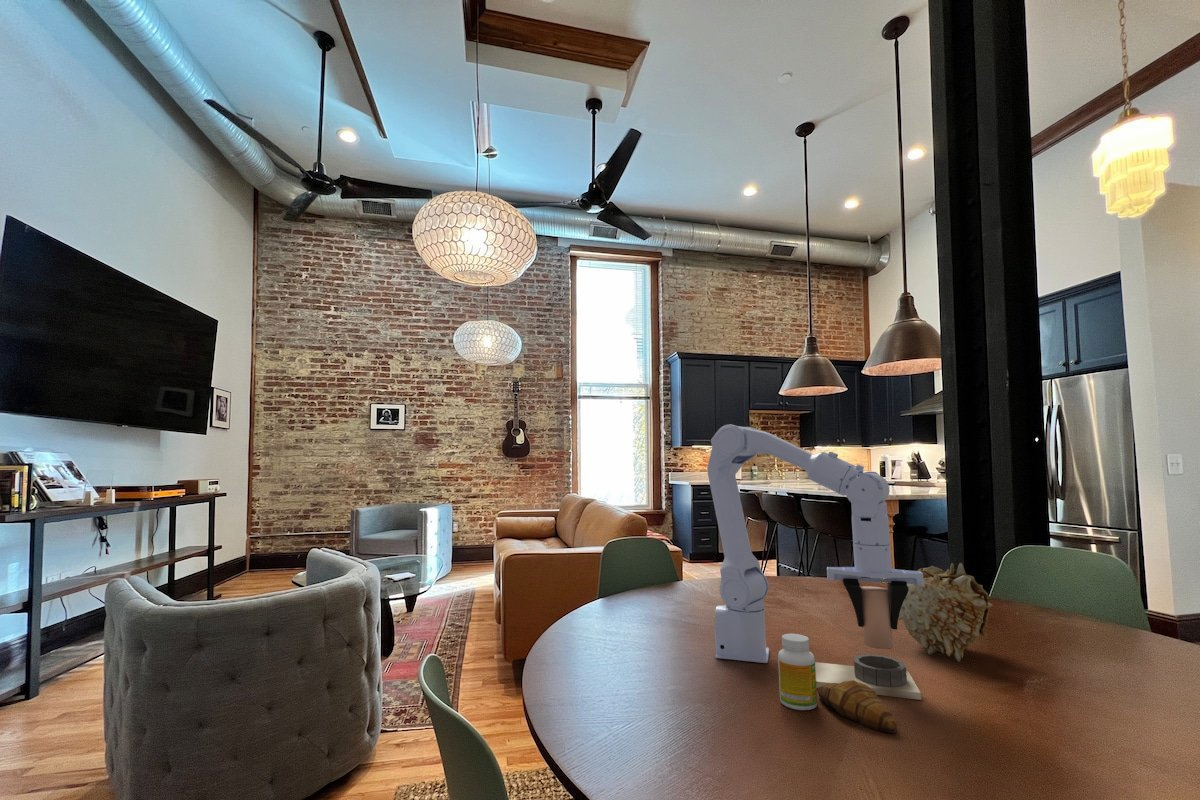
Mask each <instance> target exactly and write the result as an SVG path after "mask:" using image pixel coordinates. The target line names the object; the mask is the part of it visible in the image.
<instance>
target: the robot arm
mask: <svg viewBox="0 0 1200 800" xmlns="http://www.w3.org/2000/svg"><path fill="white" fill-rule="evenodd" d="M710 443H711V451H710V454H709V459H708V462H707V463H708V464H707V471H706V473H707V476H708V477H707V478H708V481H709V487H710V492H711V496H712V501H713V506H714V511H715V512H714V513H715V517H716V521H717V526H718V531H719V535H720V541H721V545H722V551H723V557H724V559H723V561H722V564H721V566H720V569H719V572H720V584H719V594H720V597H721V600H722V601H723V602H724V605H722V604H720V605H716V607H715V611H714V643H715V654H714V655H715V658H716V659H724V660H730V661H731V660H733V661H742V662H752V663H753V662H754V663H763V664H767V663H769V656H770V648H769V647H768V646H767V640H766V639H767V637H766V636H767V635H766V615H765V613H766V612H765V604H764V599H765V598H766V597H767V595H768V592H769V589H770V588H769V587H770V586H769V581H768V578H767V576H766V575H765V574H764V572H763V571H762V569H761V564H760V561H759V560H758V558H756V556H755V555H754V554H753V552H752V548H751V542H750V538H749V533H748V529H747V524H746V518H745V515H744V511H743V510H744V509H743V505H742V500H741V495H740V491H739V487H738V481H737V477H736V475H737V473H738V472H739V471H740V470H741V468H742V467H743V466H744V464H745V463H746V462H748V461H749V460H751V459H752V458H754V457H755V456H756V455H758V454H761V455H762V454H768V455H771V456H773V457H775V458H777V459H780V460H782V461H784V462H787V463H789V464H791V465H794V466H796V467H798V468H800V469H803V470H805V472H806V474H807V477H808V479H809V480H810V481H812V482H814V483H816V484H818V485H820V486H822V487H824V488H826V489H828V490H831V491H832V492H835V493H837V494H838V495H841V496H843V497H845V496H846V498H847V499H848V501H849V502H850V503H851V505H850V506H851V529H852V531H851V532H852V547H853V548H852V549H853V563H854V566H827V567H826V577H827V580H828V581H835V580H836V581H841V582H842V584H843V586H844V588H845V590H846V591H847V594H848V596H849V599H850V602H851V604H852V605H853V606H852V607H853V610H854V613H855V617H856V621H857V627H861V628H862V627H863V616H862V609H861V588H860V587H861V585H860V582H872V583H873V582H874V583H886V585H887V589H888V590H889V599H890V613H891V627H892V630H895V631H896V630H898V623H899V622H898V621H899V619H898V618H899V615H900V610H901V607H902V604H903V602H904V600H905V598H906V596H907V594H908V590H909V588H908V586H907V584H916V585H924V582H923V573H921V572H920V571H918V570H906V569H896V568H893V563H892V562H893V561H892V550H891V536H890V534H891V533H890V521H889V515H888V503H887V501H886V500H887V499H888V497H889V495H890V486H889V483H888V481H887V480H886V479H885V478H884V477H883V475H881V474H878V472H877V471H866V472H865V471H864V470H865V466H863V465H861V464H857V465H854V464H852V463H850V462H848V461H846V460H843V459H841V458H840V457H839V454H838V453H836V452H834V451H829V452H828V453H827V452H826V451H820V452H818V453H815V454H813V453H810V452H809V451H807V450H805V449H803V448H801V447H799V446H797V445H794V444H793V443H791V442H788V441H787V440H784V439H782V438H781V437H779V436H776V435H775V434H772V433H770V432H768V431H764V430H760V429H756V428H754V427H752V426H740V425H735V424H731V423H730V424H724V425H723V426H721V427H720V428H718V430H717V431H716V432H715V433H714V435H713V437H712V438H711V439H710ZM838 457H839V458H838Z"/></svg>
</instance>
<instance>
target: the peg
mask: <svg viewBox="0 0 1200 800" xmlns="http://www.w3.org/2000/svg"><path fill="white" fill-rule="evenodd" d="M860 588H861V609H862V616H863V627H861V628H862V640H863V641H862V643H863V645H865V646H867V647H869V648H874V649H880V650H891V649H892V648H894V643H893V629H892V627H891V613H890V599H889V590H888V588H886V587H880V586H870V585H869V586H865V585H864V586H860Z"/></svg>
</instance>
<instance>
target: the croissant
mask: <svg viewBox="0 0 1200 800" xmlns="http://www.w3.org/2000/svg"><path fill="white" fill-rule="evenodd" d="M817 693H818V696H819V698H820V700H821V701H822V702H823V703H824V704H825V705H827V706H828V707H829V708H832V709H833V710H835V711H836V712H837V713H838V714H839V715H841V716H842V717H844V718H847V719H850V720H853V721H855V722H857V723H860V724H862V725H864V726H866V727H868V728H871V729H874V730H876V731H879V732H885V733H888V734H889V733H891V734H892V733H895V732H896V731H897V726H898V725H897V722H896V719H895V718H894V716H893V714H892V713H891V711H890V710H889V708H887V706H886V705H885V703H883V701H882V700H881V699H880V698H879V697H878V695H876V693H875V691H874V690H873V689H871V688H870V687H869V686H867V685H865V684H862V683H859V682H857V681H854V680H851V681H844V682H842V683H828V684H824V685H822V686H820V687H819V688H817Z"/></svg>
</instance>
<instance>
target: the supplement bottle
mask: <svg viewBox="0 0 1200 800" xmlns="http://www.w3.org/2000/svg"><path fill="white" fill-rule="evenodd" d="M781 645H782V647H783V648H782V649H780V650H779V651H778V654H777V661H778V662H777V664H778V683H779V684H778V688H779V701H780V703H781V704H782V705H784V706H785V707H787V708H789V709H792V710H796V711H811V710H814V709H816V708H817V706H818V695H817V693H818V689H817V688H816V670H815V662H816V659H815V655H814V654H813V653H812V652H811V651H809V649H810V639H809V637H808V636H805V635H803V634H799V633H785V634H782V635H781Z"/></svg>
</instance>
